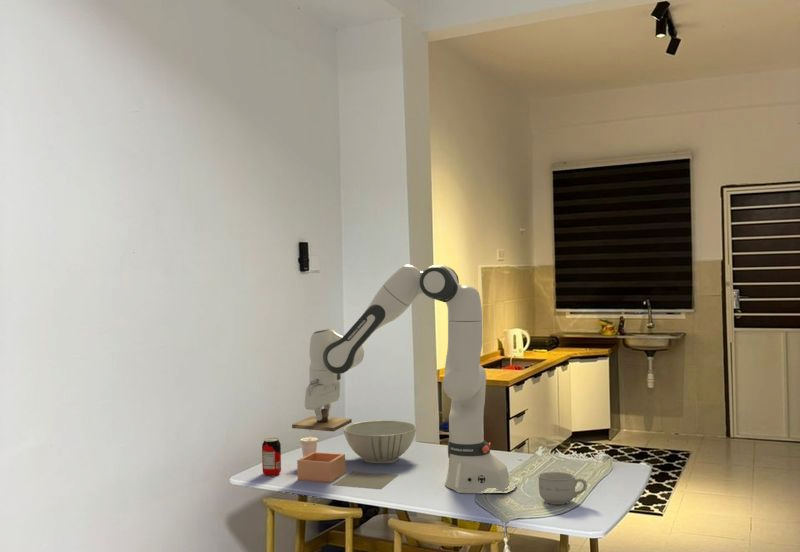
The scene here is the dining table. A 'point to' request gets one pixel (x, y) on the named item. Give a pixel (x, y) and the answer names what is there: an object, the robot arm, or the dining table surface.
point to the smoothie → (308, 445)
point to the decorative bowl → (380, 439)
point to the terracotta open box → (321, 467)
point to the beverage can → (271, 456)
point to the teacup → (559, 487)
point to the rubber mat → (366, 480)
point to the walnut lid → (322, 423)
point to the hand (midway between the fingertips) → (322, 418)
